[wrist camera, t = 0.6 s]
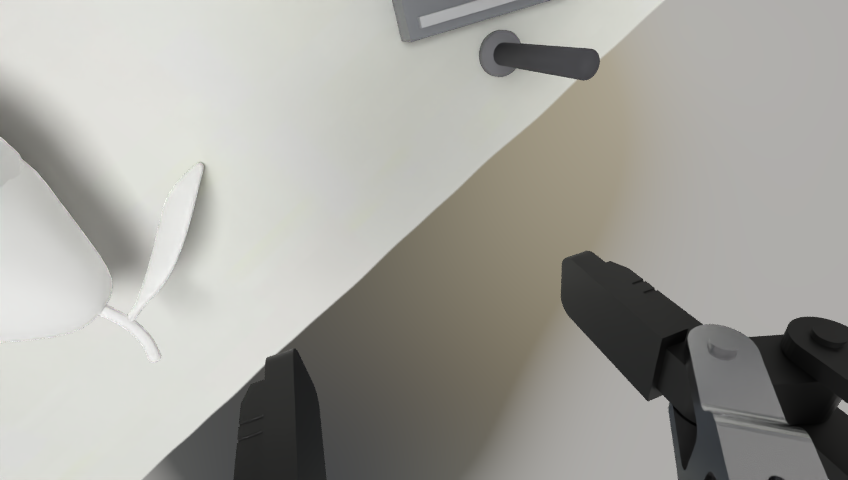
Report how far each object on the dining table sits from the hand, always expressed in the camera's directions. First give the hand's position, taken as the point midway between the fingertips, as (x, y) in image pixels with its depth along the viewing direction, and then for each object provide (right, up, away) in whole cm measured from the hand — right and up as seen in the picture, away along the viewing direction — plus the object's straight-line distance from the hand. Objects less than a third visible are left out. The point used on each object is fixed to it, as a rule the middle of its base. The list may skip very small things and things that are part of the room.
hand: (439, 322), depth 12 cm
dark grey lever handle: (+7, +20, +28) cm, 35 cm away
